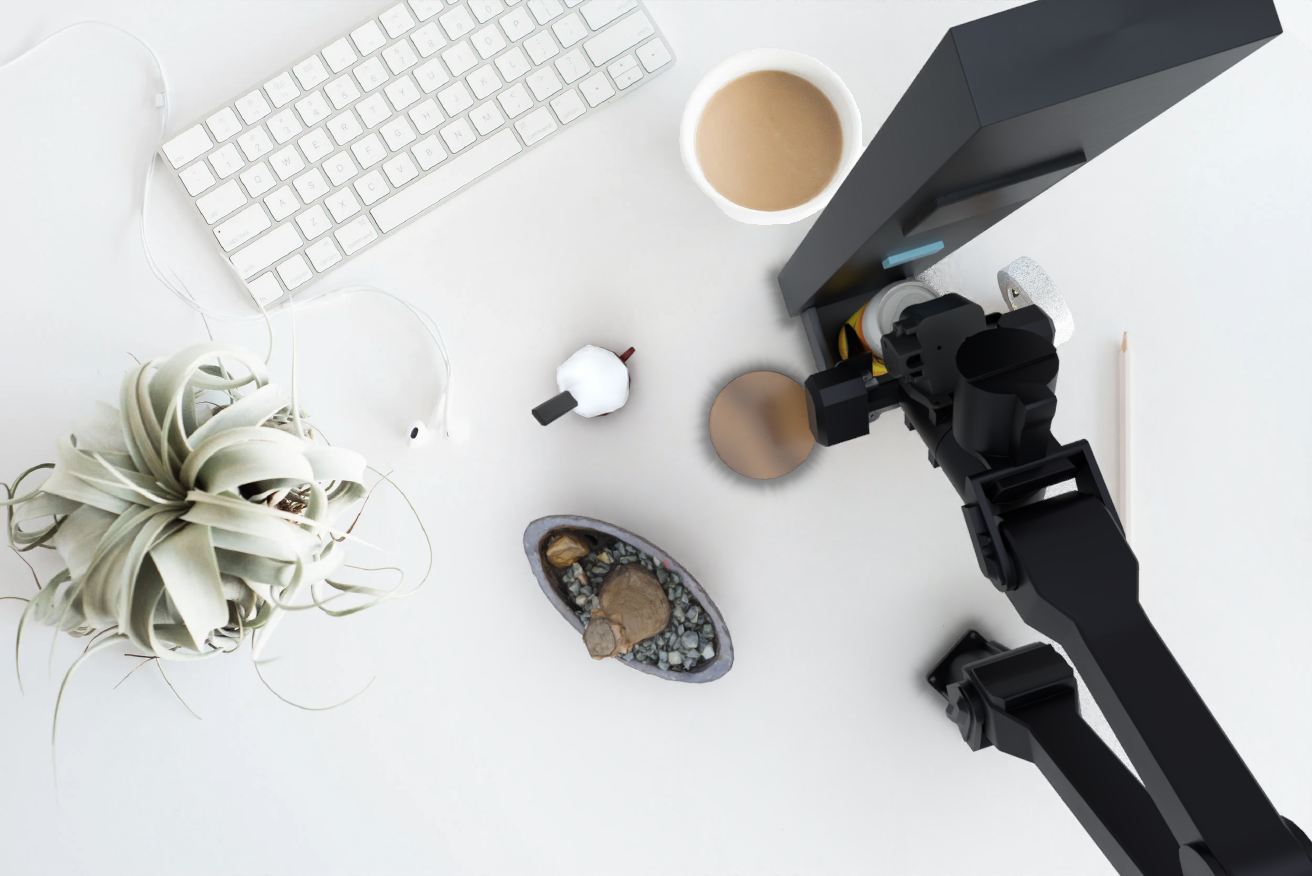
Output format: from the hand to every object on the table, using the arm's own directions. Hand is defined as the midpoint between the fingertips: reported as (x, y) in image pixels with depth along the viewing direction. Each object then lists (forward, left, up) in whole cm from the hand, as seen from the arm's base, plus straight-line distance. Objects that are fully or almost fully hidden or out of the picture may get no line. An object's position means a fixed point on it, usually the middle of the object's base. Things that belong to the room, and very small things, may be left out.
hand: (882, 315), depth 69 cm
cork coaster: (-13, +1, -8) cm, 15 cm away
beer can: (-1, -2, -7) cm, 8 cm away
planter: (-32, 0, -8) cm, 33 cm away
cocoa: (-21, +15, -8) cm, 27 cm away
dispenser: (0, 0, -8) cm, 8 cm away
